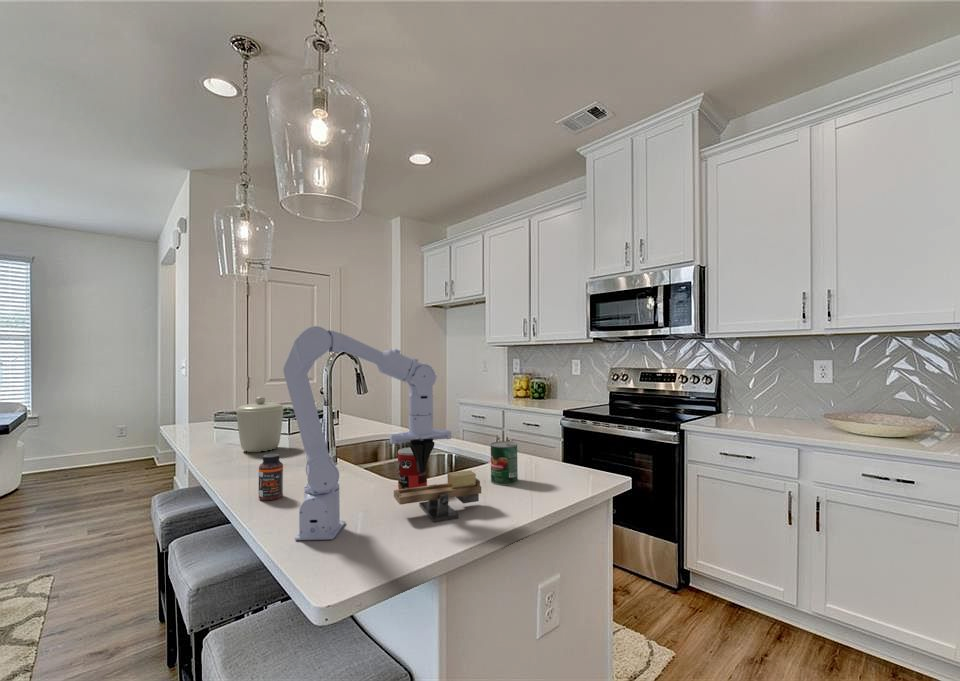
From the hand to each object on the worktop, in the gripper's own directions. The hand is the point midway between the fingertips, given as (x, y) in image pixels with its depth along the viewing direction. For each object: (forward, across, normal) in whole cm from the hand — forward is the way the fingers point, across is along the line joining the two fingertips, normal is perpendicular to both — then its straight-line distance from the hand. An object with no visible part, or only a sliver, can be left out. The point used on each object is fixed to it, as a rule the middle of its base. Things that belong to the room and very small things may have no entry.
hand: (421, 471), depth 109 cm
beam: (+8, +4, 0) cm, 9 cm away
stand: (+10, +4, 0) cm, 11 cm away
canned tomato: (+10, +29, +16) cm, 35 cm away
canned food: (+10, +3, +20) cm, 23 cm away
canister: (+10, -38, +96) cm, 104 cm away
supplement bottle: (+10, -33, +29) cm, 45 cm away
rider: (+5, +10, 0) cm, 11 cm away
